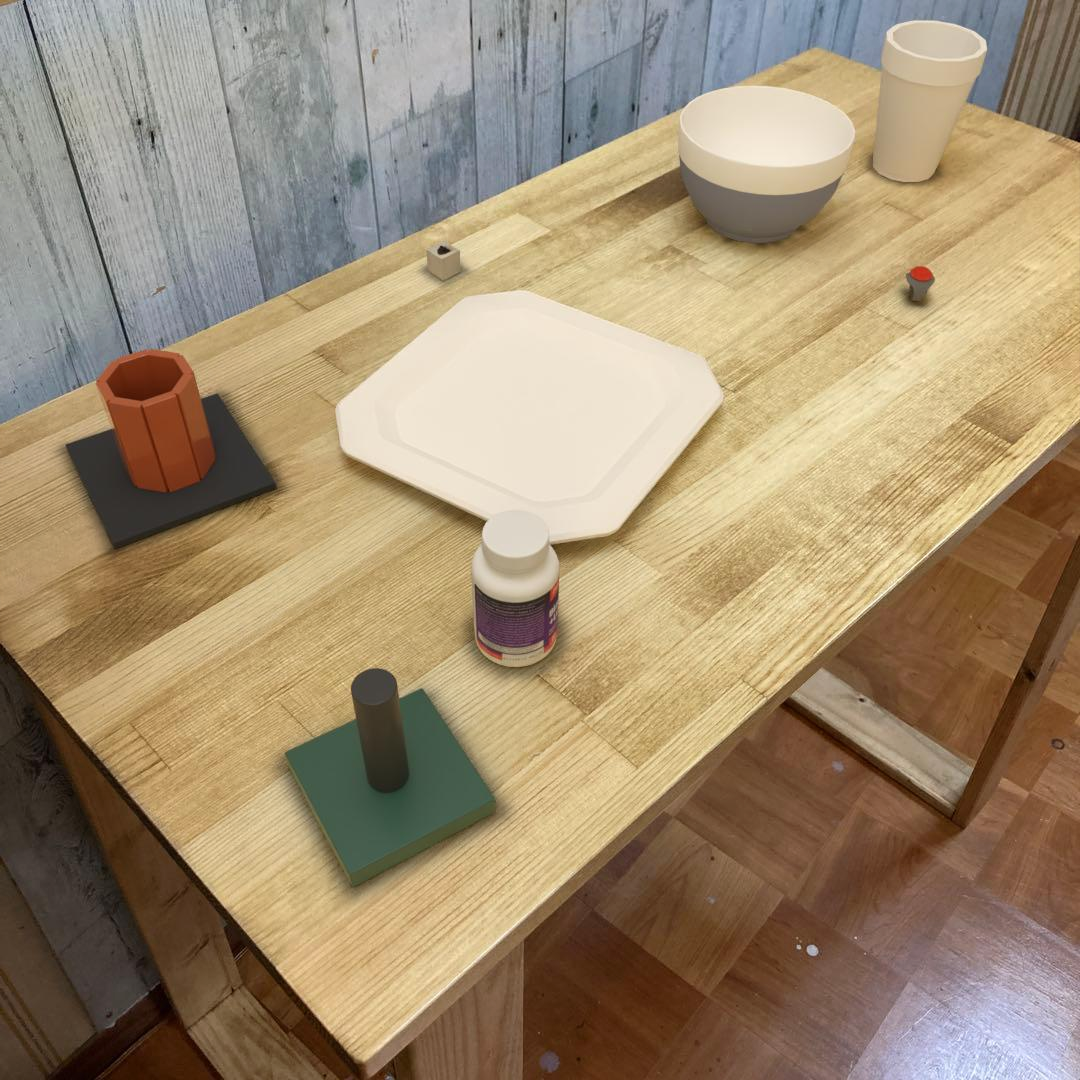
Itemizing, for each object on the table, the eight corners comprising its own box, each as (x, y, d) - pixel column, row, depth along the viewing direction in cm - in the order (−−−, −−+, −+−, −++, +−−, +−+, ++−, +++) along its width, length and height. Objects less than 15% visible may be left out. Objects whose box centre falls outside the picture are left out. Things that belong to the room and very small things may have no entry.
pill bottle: (567, 660, 72) (572, 556, 65) (485, 677, 71) (481, 574, 64) (544, 598, 76) (547, 493, 69) (466, 613, 75) (460, 509, 68)
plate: (586, 584, 77) (587, 562, 75) (305, 451, 86) (301, 429, 84) (743, 391, 91) (747, 369, 90) (489, 295, 100) (488, 273, 99)
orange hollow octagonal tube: (143, 502, 81) (114, 416, 75) (116, 453, 85) (86, 367, 79) (226, 472, 83) (203, 386, 77) (196, 425, 87) (172, 339, 81)
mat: (114, 549, 79) (112, 543, 78) (67, 450, 86) (65, 444, 85) (276, 488, 83) (275, 482, 83) (219, 398, 90) (217, 392, 90)
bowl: (721, 278, 102) (735, 181, 96) (640, 195, 112) (648, 102, 106) (867, 241, 107) (891, 146, 100) (777, 165, 117) (793, 73, 110)
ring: (926, 290, 101) (935, 262, 99) (930, 307, 100) (939, 278, 98) (898, 289, 102) (906, 260, 99) (901, 305, 100) (910, 276, 98)
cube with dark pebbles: (461, 271, 103) (459, 247, 101) (443, 281, 102) (441, 256, 100) (445, 262, 104) (444, 238, 102) (427, 271, 103) (425, 246, 101)
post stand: (352, 888, 61) (329, 790, 54) (287, 765, 67) (259, 662, 59) (496, 812, 65) (492, 710, 57) (423, 701, 70) (412, 595, 63)
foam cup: (838, 163, 117) (865, 36, 108) (894, 136, 122) (925, 12, 112) (912, 199, 112) (948, 70, 103) (968, 170, 117) (1007, 43, 107)
